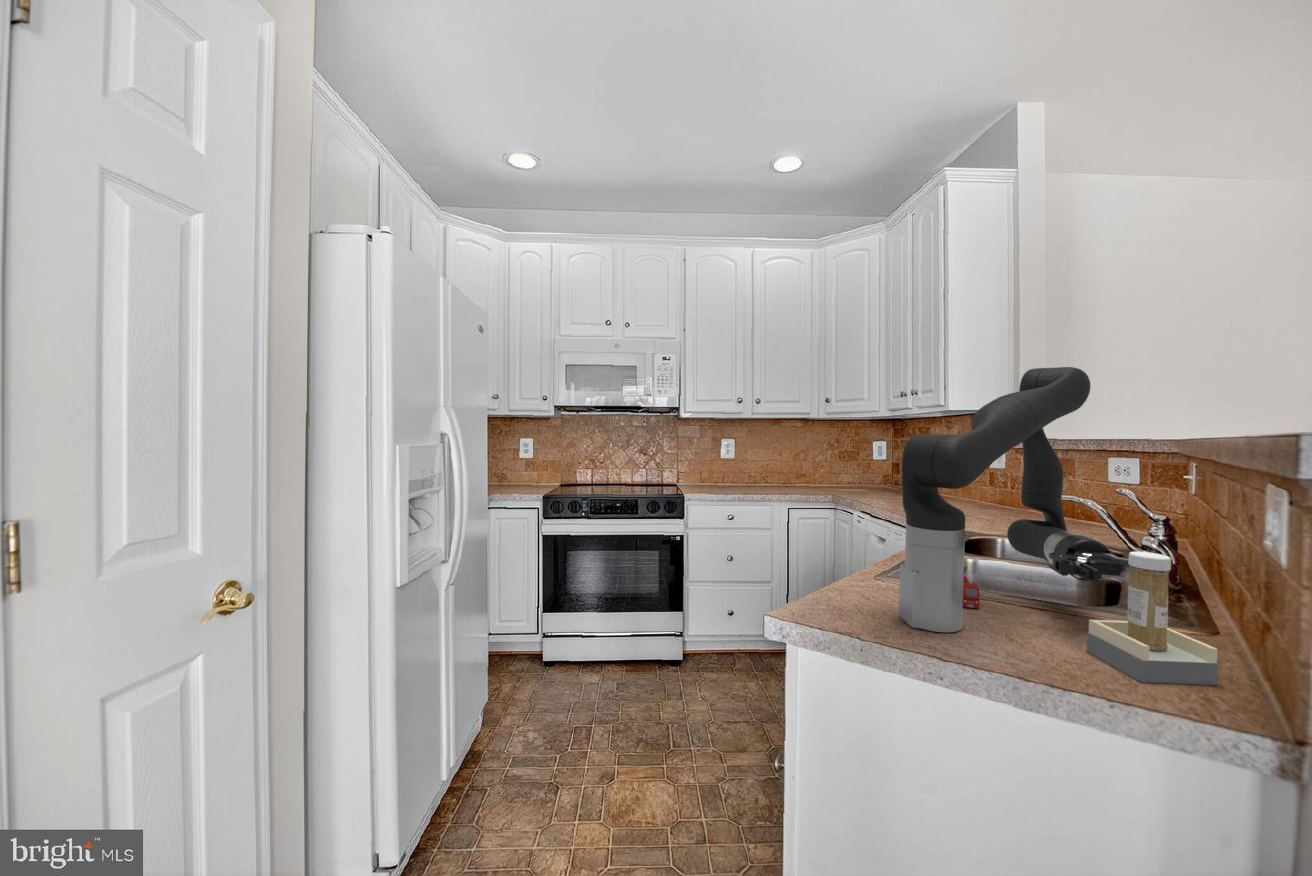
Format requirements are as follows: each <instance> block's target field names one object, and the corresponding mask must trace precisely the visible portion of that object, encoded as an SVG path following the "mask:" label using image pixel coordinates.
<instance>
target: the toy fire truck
mask: <svg viewBox="0 0 1312 876" xmlns="http://www.w3.org/2000/svg"><path fill="white" fill-rule="evenodd" d="M967 570H968V563H967V560H966V559H965V558H964V577H963V607H965V608H973V609H978V608H980V589H979V585H977V584H976V583H975V581H974V582H972V583H970V582H969V579H968V577H967V576H965V574H966V572H967Z"/></svg>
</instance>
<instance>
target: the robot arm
mask: <svg viewBox="0 0 1312 876" xmlns="http://www.w3.org/2000/svg"><path fill="white" fill-rule="evenodd" d="M1090 380H1091V379H1090V378H1089V375H1088V374H1087V373H1086V371H1084V370H1082V369H1081V368H1077V367H1072V366H1063V367H1062V366H1060V367H1059V366H1058V367H1037V368H1031V369H1028V370H1027V371H1025V373H1023V375H1022V377H1021V380H1020V383H1019V390H1018V391H1016V392H1010V393H1006V394H1004V395H1001V396H999V397H996V398H995V399H993V400H991V401H989V402H988V403H986V404H985V405H983V406H981V407H980V408H979V409H978V410H977V411H976V412H975V414H974V415H973V417H972V419H971V423H970V424H971V425H970V428H971V430H970V431H968V432H965V433H961V434H930V433H928V434H927V433H925V434H924V433H922V434H921V433H919V434H915V435H912V436H911V437H910V438H909V439H908V440H907V441H906V443H905V445H904V448H903V451H902V456H901V484H902V485H901V486H902V487H901V488H902V490H901V491H902V507H903V511H904V514H905V523H906V524H905V544H904V563H901V564H900V566H899V598H898V616H899V617H900V618H901V619H902V620H904V622H905V623H906V624H907V625H909V626H910V627H911V628H913V629H920V630H926V631H930V632H938V633H955V632H958V631H961V630H962V629H963V617H964V616H963V609H964V608H963V607H964V606H963V577H964V576H965V574H964V559H965V544H966V543H965V542H966V540H965V539H966V538H965V537H966V516H965V515H966V514H965V513H964V512H963V511H962V510H961V509H959V508H958V507H956V506H953V505H952V504H950V503H949V502H948V501H946V500H945V499H944V498H943V497H942V496H941V495H940V492H939V489H940V488H942V489H951V490H955V489H957V490H958V489H962V488H965V487H968V485H970V484H972V483H973V482H974V481H976V479H978V478H979V477H980V476H981V475H982V474H983V473H984V472H985V471H986V470H987V469H989V467H990V466H991V465H992V464H993V463H994V462H996V461H997V460H998V459H999V458H1000V457H1002V456H1003V455H1005V454H1006V453H1007V452H1008V451H1010V450H1012V449H1013V448H1015V447H1016V446H1018V445H1020V444H1022V450H1023V451H1022V453H1023V470H1022V471H1023V472H1022V481H1021V483H1022V484H1021V492H1020V493H1021V494H1020V496H1021V497H1020V503H1021V504H1022V506H1024V507H1026V508H1028V509H1032V510H1035V511H1039V512H1041V513H1042V515H1043V516H1044V520H1035V519H1024V518H1021V519H1018V520H1017V519H1016V520H1015V521H1013V522H1012V523H1010V525H1009V526H1008V529H1007V533H1006V534H1007V540H1008V542H1009V544H1010V545H1011V547H1012V548H1013V549H1014V550H1015V551H1016V552H1018V553H1021V554H1024V555H1027V556H1031V557H1034V558H1040V559H1043V560H1044V561H1047V563H1048V568H1050V569H1051V570H1052V571H1054V572H1055V573H1057V574H1058V575H1061V576H1064V577H1065V576H1066V577H1068V576H1071V577H1073V578H1075V579H1077V580H1079V581H1082V582H1090V583H1091V584H1099V581H1101V580H1102V579H1104V578H1105V579H1106V578H1107V579H1117V580H1120V581H1125V582H1129V575H1130V568H1129V566H1130V565H1129V564H1128V559H1129V558H1125V557H1119V556H1117V555H1116V554H1113V553H1112V551H1110V549H1109V548H1108V547H1107V546H1106V545H1105V544H1104V543H1102V542H1100V541H1099V540H1096V539H1093V538H1091V537H1088V536H1085V535H1083V534H1080V533H1076V532H1071V531H1068V528H1067V524H1066V522H1065V517H1064V516H1065V515H1064V512H1063V505H1062V501H1063V500H1062V498H1063V497H1062V496H1063V487H1064V486H1063V485H1064V469H1063V466H1062V462H1061V460H1060V458H1059V457H1058V454H1057V452H1055V450H1054V448H1053V446H1052V444H1051V443H1050V442H1049V439H1048V437H1047V436H1046V433H1045V430H1044V428H1045V427H1046V426H1048V425H1049V424H1050V423H1053V422H1054V421H1056V420H1058V419H1060V418H1062V417H1065V416H1067V415H1069V414H1072V413H1073V412H1077V410H1079V409H1080V408H1081V407H1082V406H1083V405H1084V404H1085V403H1086V401H1087V399H1088V398H1089V396H1090V391H1091V381H1090ZM1123 573H1125V575H1122V574H1123Z"/></svg>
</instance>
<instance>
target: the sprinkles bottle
mask: <svg viewBox="0 0 1312 876" xmlns="http://www.w3.org/2000/svg"><path fill="white" fill-rule="evenodd" d="M1127 559H1128V564H1129V565H1130V566H1129V568H1130V575H1129V581H1128V592H1127V618H1126V619H1127V621H1128V634H1127V636H1129V637H1131V638H1133V639H1135V640H1137V641H1139V642H1141V643H1144V644H1146V645H1148V646H1150V648H1149V650H1152V651H1164V650H1166V649H1167V644H1166V642H1167V639H1166V638H1167V628H1168V622H1169V619H1168V617H1169V615H1168V614H1169V611H1168V610H1169V574H1170V571H1171V569H1172V559H1171V557H1170V556H1167V555H1164V554H1161V553H1155V552H1148V551H1130V552H1129V553H1128V558H1127Z"/></svg>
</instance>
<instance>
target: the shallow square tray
mask: <svg viewBox="0 0 1312 876" xmlns="http://www.w3.org/2000/svg"><path fill="white" fill-rule="evenodd" d="M1127 634H1128V620H1110V619H1107V620H1106V619H1105V620H1104V619H1103V620H1102V619H1089V620H1088V632H1087V634H1086V652H1087V654H1088V653H1089V654H1090V655H1092V656H1094V657H1095V658H1097V659H1099V660H1100V661H1102V662H1104V663H1106V664H1107V665H1110V666H1112V667H1114V668H1115V669H1116V670H1118V671H1120V672H1122V673H1123V674H1125V675H1127V676H1129V677H1130V678H1133V679H1134V680H1135V681H1138V682H1139V683H1149V684H1150V683H1152V684H1155V683H1156V684H1173V685H1174V684H1176V685H1177V684H1178V685H1179V684H1180V685H1202V686H1203V685H1204V686H1205V685H1206V686H1218V685H1219V684H1218V681H1219V680H1218V679H1219V663H1218V651H1219V649H1218V648H1216V647H1215V646H1212V645H1209V644H1208V643H1204V642H1202V641H1200V640H1197V639H1195V638H1192V637H1190V636H1188V635H1186V634H1184V633H1181V632H1178V631H1176V630H1173V629H1171V628H1169V627H1167V638H1166V639H1167V642H1166V644H1167V649H1166V650H1164V651H1152V650H1149V648H1150V646H1148V645H1146V644H1144V643H1141V642H1139V641H1137V640H1135V639H1133V638H1131V637H1129V636H1127Z"/></svg>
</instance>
